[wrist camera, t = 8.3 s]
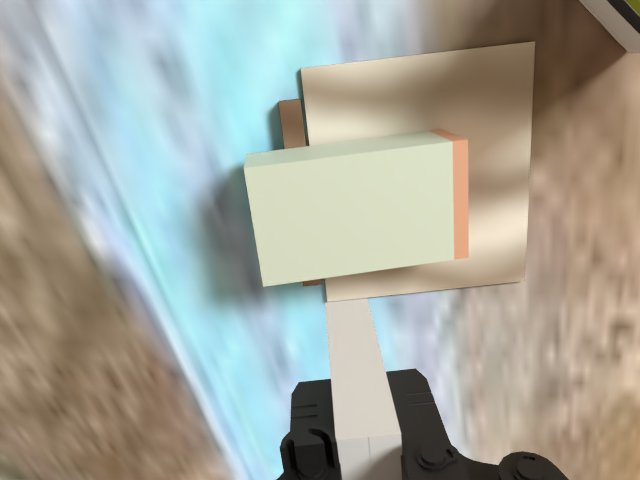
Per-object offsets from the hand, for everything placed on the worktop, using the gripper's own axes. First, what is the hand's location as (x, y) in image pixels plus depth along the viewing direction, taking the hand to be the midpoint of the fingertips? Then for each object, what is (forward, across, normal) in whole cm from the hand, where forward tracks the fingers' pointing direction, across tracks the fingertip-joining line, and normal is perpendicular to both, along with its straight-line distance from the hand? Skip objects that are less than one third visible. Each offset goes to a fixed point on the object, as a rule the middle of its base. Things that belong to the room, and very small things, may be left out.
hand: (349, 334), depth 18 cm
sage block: (+17, -5, -1) cm, 18 cm away
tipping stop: (+21, +6, 0) cm, 22 cm away
